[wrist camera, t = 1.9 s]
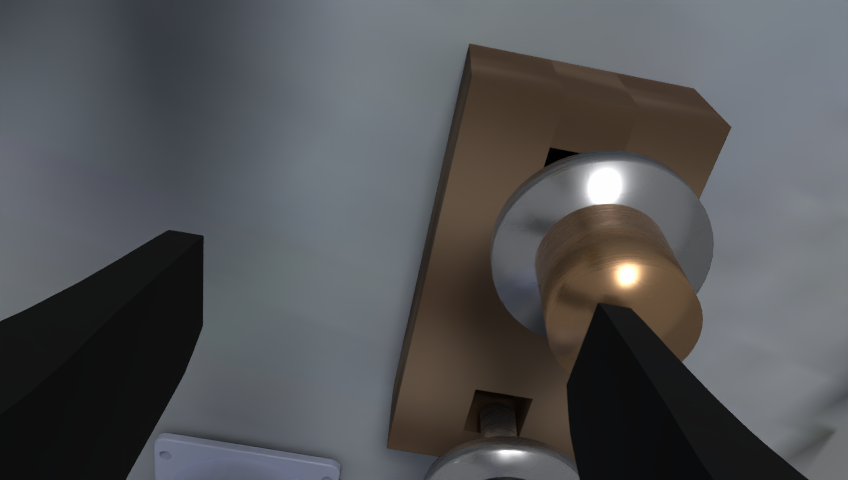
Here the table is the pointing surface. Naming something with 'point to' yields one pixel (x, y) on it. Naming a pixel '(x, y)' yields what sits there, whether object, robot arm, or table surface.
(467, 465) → the chrome threaded knob
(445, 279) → the stand
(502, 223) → the copper plunger
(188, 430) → the table surface
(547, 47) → the table surface
